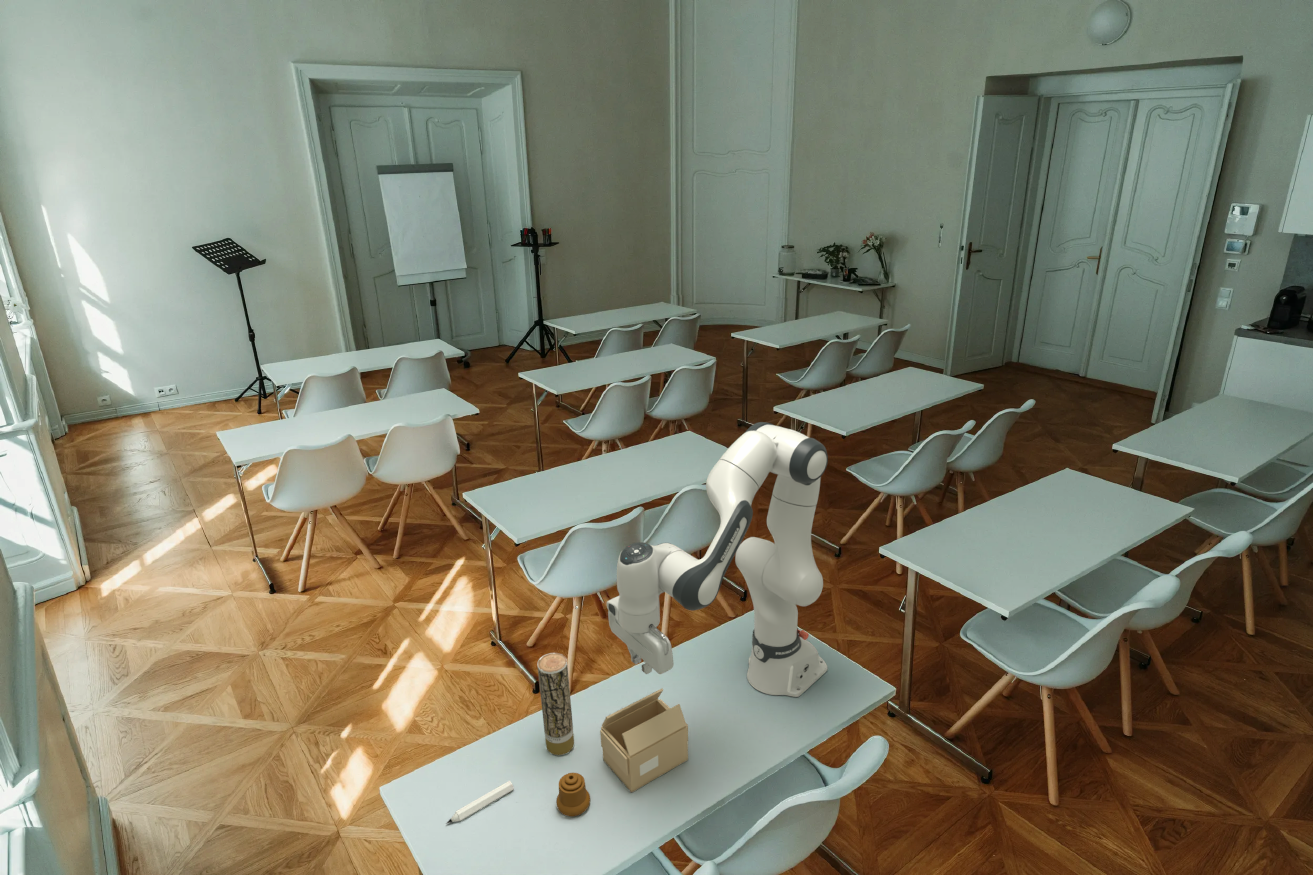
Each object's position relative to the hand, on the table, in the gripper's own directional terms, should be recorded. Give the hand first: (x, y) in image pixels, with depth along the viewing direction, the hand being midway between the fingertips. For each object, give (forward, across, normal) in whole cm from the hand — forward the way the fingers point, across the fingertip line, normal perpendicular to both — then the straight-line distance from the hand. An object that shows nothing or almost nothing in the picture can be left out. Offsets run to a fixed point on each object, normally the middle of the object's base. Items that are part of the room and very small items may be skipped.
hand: (641, 666), depth 172 cm
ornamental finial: (+27, -1, +20) cm, 34 cm away
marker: (+28, +11, +37) cm, 47 cm away
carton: (+27, 0, 0) cm, 27 cm away
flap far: (+17, +6, 0) cm, 18 cm away
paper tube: (+27, +16, +14) cm, 35 cm away
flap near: (+17, -6, 0) cm, 18 cm away
